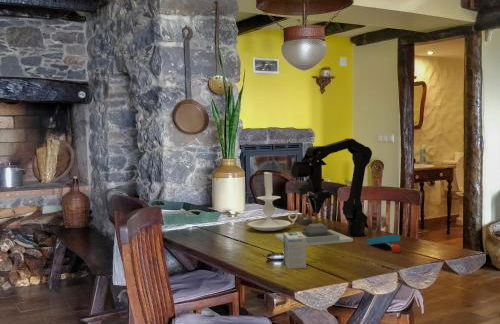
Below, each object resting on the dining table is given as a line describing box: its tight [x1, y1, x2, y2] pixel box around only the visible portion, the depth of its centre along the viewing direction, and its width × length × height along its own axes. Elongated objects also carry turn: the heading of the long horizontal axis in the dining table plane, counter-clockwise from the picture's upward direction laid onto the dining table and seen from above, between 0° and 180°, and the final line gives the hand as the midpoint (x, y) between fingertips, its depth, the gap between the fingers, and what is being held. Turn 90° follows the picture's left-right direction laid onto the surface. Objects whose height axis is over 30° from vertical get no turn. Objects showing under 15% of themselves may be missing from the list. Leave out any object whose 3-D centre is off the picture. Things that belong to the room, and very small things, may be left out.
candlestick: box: [247, 171, 299, 232], centre depth 261 cm, size 21×25×28 cm
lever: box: [366, 234, 402, 254], centre depth 217 cm, size 7×7×18 cm
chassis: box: [274, 228, 354, 247], centre depth 237 cm, size 27×22×3 cm
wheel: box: [298, 217, 313, 226], centre depth 244 cm, size 6×6×3 cm
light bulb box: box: [282, 231, 307, 270], centre depth 195 cm, size 11×7×11 cm, turn 5°
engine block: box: [304, 222, 329, 237], centre depth 233 cm, size 8×5×6 cm, turn 107°
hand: (315, 213), depth 233 cm, fingers open, 3 cm apart
